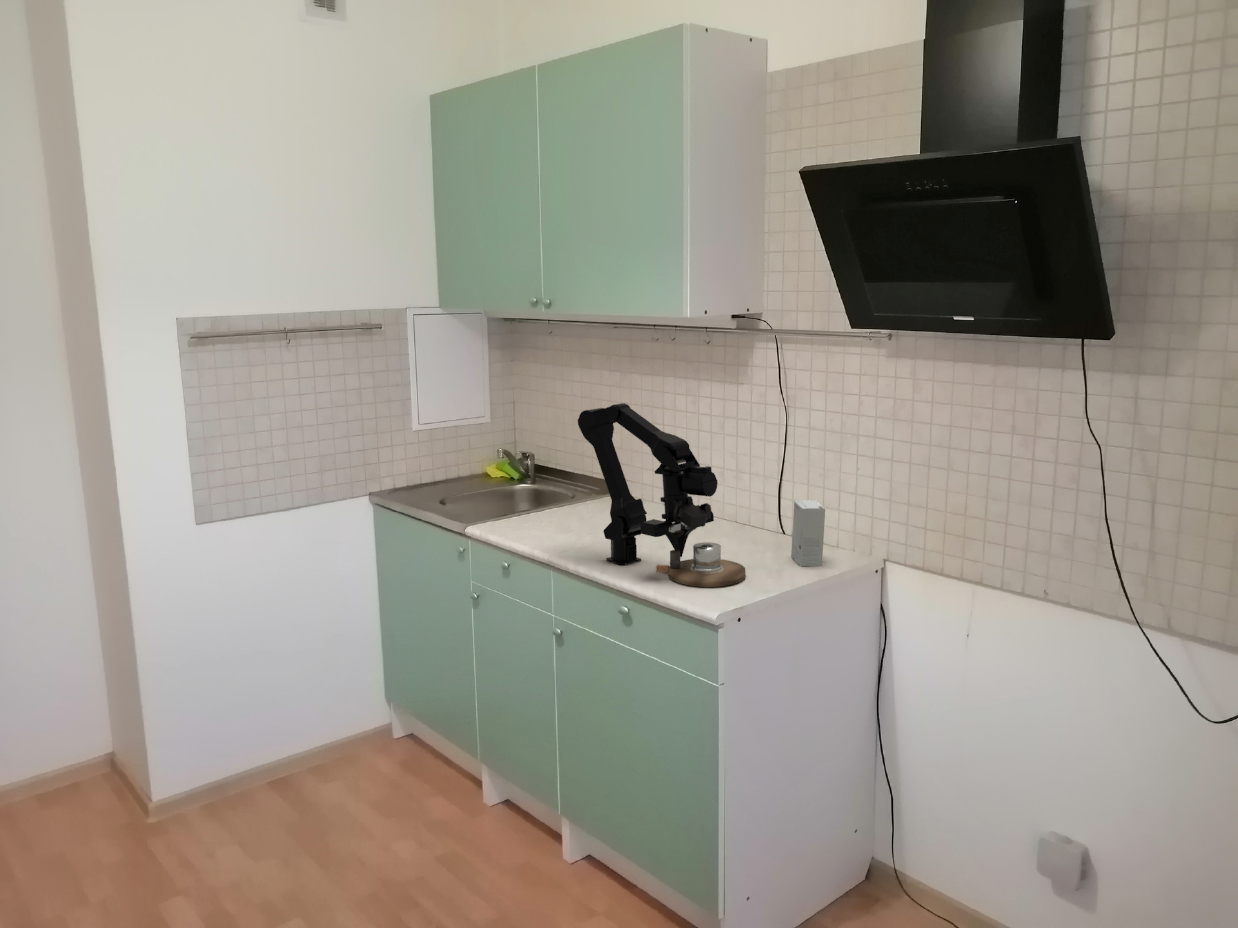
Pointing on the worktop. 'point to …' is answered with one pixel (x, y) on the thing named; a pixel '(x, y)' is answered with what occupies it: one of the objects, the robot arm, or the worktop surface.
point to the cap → (706, 557)
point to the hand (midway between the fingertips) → (679, 556)
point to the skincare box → (808, 532)
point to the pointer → (662, 568)
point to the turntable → (687, 576)
